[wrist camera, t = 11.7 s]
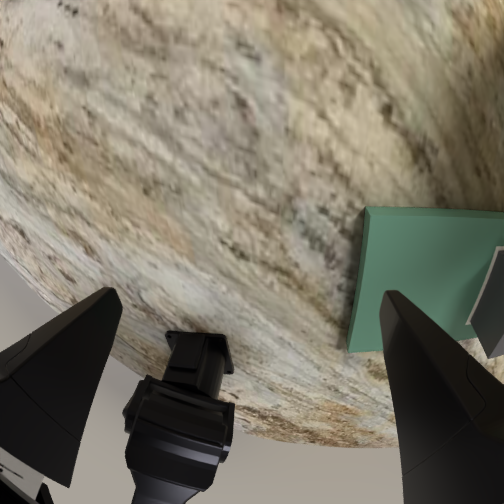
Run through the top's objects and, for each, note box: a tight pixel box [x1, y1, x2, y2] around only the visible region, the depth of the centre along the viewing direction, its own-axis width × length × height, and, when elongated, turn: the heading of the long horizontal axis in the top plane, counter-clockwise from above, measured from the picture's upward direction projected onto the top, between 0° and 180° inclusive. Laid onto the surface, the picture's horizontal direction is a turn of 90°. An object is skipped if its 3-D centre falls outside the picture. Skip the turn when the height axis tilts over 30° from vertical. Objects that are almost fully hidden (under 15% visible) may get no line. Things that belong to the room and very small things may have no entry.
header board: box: [346, 207, 504, 353], centre depth 19 cm, size 14×22×4 cm, turn 95°
